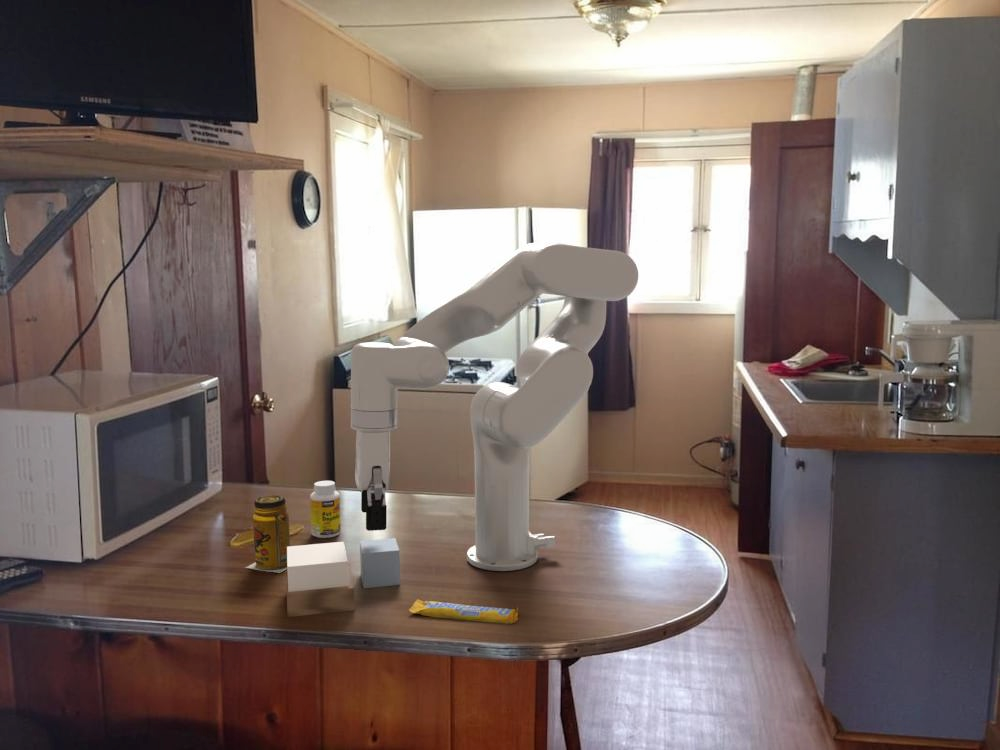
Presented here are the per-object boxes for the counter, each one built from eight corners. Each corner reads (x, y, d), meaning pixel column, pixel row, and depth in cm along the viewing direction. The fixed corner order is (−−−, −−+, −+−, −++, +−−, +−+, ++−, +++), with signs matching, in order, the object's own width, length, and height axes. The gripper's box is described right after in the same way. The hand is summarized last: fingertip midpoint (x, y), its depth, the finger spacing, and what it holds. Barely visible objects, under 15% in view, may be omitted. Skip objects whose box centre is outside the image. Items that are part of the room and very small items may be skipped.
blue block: (396, 571, 147) (395, 538, 146) (400, 585, 141) (399, 550, 140) (360, 574, 146) (359, 541, 145) (363, 588, 140) (362, 553, 139)
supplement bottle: (321, 541, 162) (319, 489, 160) (306, 534, 166) (303, 483, 164) (346, 534, 166) (344, 483, 164) (330, 527, 170) (328, 477, 168)
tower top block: (344, 564, 140) (343, 541, 140) (348, 586, 132) (347, 561, 131) (288, 570, 138) (286, 546, 138) (288, 592, 130) (287, 566, 129)
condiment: (244, 568, 149) (241, 501, 147) (274, 552, 156) (271, 488, 155) (279, 574, 146) (276, 506, 144) (308, 557, 154) (305, 492, 152)
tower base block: (350, 587, 141) (350, 564, 141) (354, 612, 132) (353, 587, 131) (288, 593, 139) (287, 569, 138) (287, 619, 129) (286, 594, 129)
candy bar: (522, 616, 130) (522, 605, 130) (517, 628, 126) (517, 616, 126) (417, 607, 134) (416, 595, 133) (408, 618, 130) (408, 606, 129)
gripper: (347, 409, 147) (347, 506, 149) (354, 430, 130) (353, 538, 132) (391, 408, 148) (390, 504, 151) (403, 429, 132) (402, 536, 134)
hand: (373, 520), depth 142 cm, fingers open, 9 cm apart
